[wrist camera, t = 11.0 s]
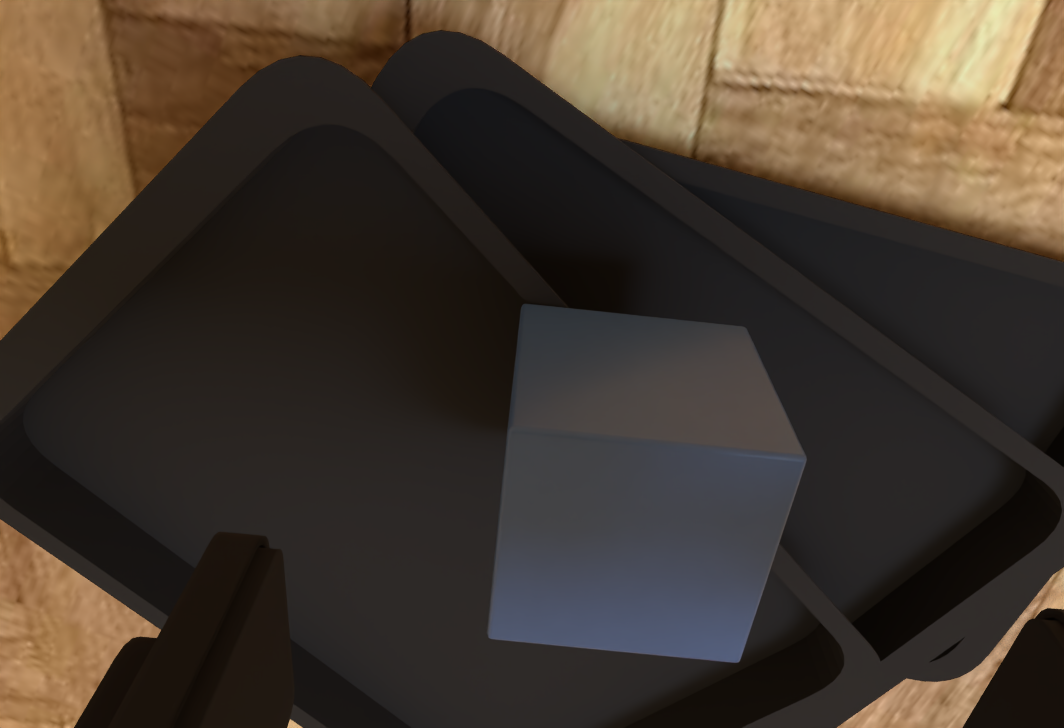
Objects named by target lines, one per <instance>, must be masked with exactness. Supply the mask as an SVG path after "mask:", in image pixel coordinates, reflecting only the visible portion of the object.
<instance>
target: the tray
mask: <svg viewBox="0 0 1064 728" xmlns="http://www.w3.org/2000/svg"><path fill="white" fill-rule="evenodd" d="M523 304H534V305H543V306H553V307H562V308H572V309H581V310H591V311H600V312H610V313H619V314H629V315H638V316H648V317H657V318H667V319H676V320H686V321H695V322H705V323H714V324H724V325H734V326H743V327H745V328H746V329H747V331H748V333H749V335H750V337H751V339H752V342H753V344H754V346H755V348H756V350H757V352H758V354H759V356H760V359H761V361H762V363H763V365H764V367H765V369H766V371H767V374H768V376H769V378H770V380H771V382H772V384H773V386H774V389H775V391H776V393H777V395H778V397H779V399H780V401H781V403H782V406H783V408H784V410H785V412H786V414H787V416H788V418H789V421H790V423H791V425H792V427H793V429H794V431H795V433H796V436H797V438H798V440H799V442H800V444H801V446H802V448H803V451H804V453H805V455H806V459H807V460H806V464H805V467H804V470H803V473H802V476H801V479H800V482H799V485H798V488H797V491H796V494H795V497H794V500H793V503H792V506H791V509H790V512H789V515H788V518H787V521H786V524H785V527H784V530H783V533H782V536H781V539H780V542H779V545H778V548H777V551H776V554H775V557H774V560H773V563H772V566H771V569H770V572H769V575H768V578H767V581H766V584H765V587H764V590H763V593H762V596H761V599H760V602H759V605H758V608H757V611H756V614H755V617H754V620H753V623H752V626H751V629H750V632H749V635H748V638H747V641H746V644H745V647H744V650H743V653H742V656H741V659H740V661H739V662H737V663H731V662H721V661H711V660H701V659H690V658H680V657H670V656H659V655H649V654H639V653H629V652H618V651H608V650H598V649H587V648H577V647H567V646H557V645H546V644H536V643H526V642H515V641H505V640H495V639H490V638H489V637H488V634H487V627H488V618H489V608H490V598H491V588H492V578H493V568H494V558H495V548H496V538H497V528H498V518H499V509H500V499H501V489H502V479H503V469H504V459H505V449H506V439H507V429H508V420H509V411H510V402H511V393H512V384H513V375H514V366H515V357H516V348H517V339H518V330H519V321H520V312H521V307H522V305H523ZM0 519H1V520H2V521H4V522H5V523H7V524H8V525H10V526H11V527H13V528H14V529H16V530H17V531H18V532H20V533H21V534H23V535H24V536H26V537H27V538H29V539H30V540H31V541H33V542H34V543H36V544H37V545H39V546H40V547H42V548H43V549H45V550H46V551H47V552H49V553H50V554H52V555H53V556H55V557H56V558H58V559H59V560H61V561H62V562H63V563H65V564H66V565H68V566H69V567H71V568H72V569H74V570H75V571H76V572H78V573H79V574H81V575H82V576H84V577H85V578H87V579H88V580H90V581H91V582H92V583H94V584H95V585H97V586H98V587H100V588H101V589H103V590H104V591H106V592H107V593H108V594H110V595H111V596H113V597H114V598H116V599H117V600H119V601H120V602H121V603H123V604H124V605H126V606H127V607H129V608H130V609H132V610H133V611H135V612H136V613H137V614H139V615H140V616H142V617H143V618H145V619H146V620H148V621H149V622H151V623H152V624H153V625H155V626H156V627H158V628H159V629H161V630H162V628H163V626H164V624H165V623H166V621H167V619H168V617H169V615H170V614H171V612H172V610H173V608H174V606H175V604H176V603H177V601H178V599H179V597H180V595H181V594H182V592H183V590H184V588H185V586H186V584H187V583H188V581H189V579H190V577H191V575H192V574H193V572H194V570H195V568H196V566H197V564H198V563H199V561H200V559H201V557H202V555H203V554H204V552H205V550H206V548H207V546H208V544H209V543H210V541H211V539H212V538H213V536H214V535H215V534H216V533H218V532H229V533H240V534H251V535H262V536H266V537H267V539H268V541H269V547H270V548H271V549H281V550H282V552H283V559H284V571H285V582H286V594H287V606H288V618H289V629H290V641H291V653H292V665H293V676H294V702H293V708H292V713H291V717H290V719H291V720H293V721H294V722H296V723H297V724H299V725H300V726H301V727H303V728H836V727H838V726H839V725H841V724H842V723H843V722H845V721H846V720H848V719H849V718H851V717H852V716H853V715H855V714H856V713H858V712H859V711H860V710H862V709H863V708H865V707H866V706H868V705H869V704H870V703H872V702H873V701H875V700H876V699H877V698H879V697H880V696H882V695H883V694H885V693H886V692H887V691H889V690H890V689H892V688H893V687H894V686H896V685H897V684H899V683H900V682H902V681H903V680H904V679H906V678H908V679H913V680H919V681H932V682H938V681H946V680H951V679H954V678H957V677H961V676H962V675H964V674H966V673H968V672H970V671H972V670H973V669H974V668H975V667H977V666H978V665H979V664H981V662H982V661H983V660H984V659H985V658H986V657H987V656H988V655H989V654H990V652H991V651H992V650H993V649H994V647H995V646H996V645H997V644H998V642H999V641H1000V640H1001V639H1002V638H1003V636H1004V635H1005V634H1006V633H1007V631H1008V630H1009V629H1010V628H1011V626H1012V625H1013V624H1014V623H1015V621H1016V620H1017V619H1018V618H1019V616H1020V615H1021V614H1022V613H1023V611H1024V610H1025V609H1026V608H1027V606H1028V605H1029V604H1030V603H1031V601H1032V600H1033V599H1034V598H1035V596H1036V595H1037V594H1038V593H1039V591H1040V590H1041V589H1042V588H1043V586H1044V585H1045V584H1046V583H1047V581H1048V580H1049V579H1050V578H1051V576H1052V575H1053V574H1055V573H1056V572H1057V571H1059V570H1060V569H1062V568H1063V567H1064V262H1062V261H1059V260H1055V259H1052V258H1048V257H1044V256H1041V255H1037V254H1034V253H1030V252H1026V251H1023V250H1019V249H1016V248H1012V247H1008V246H1005V245H1001V244H998V243H994V242H990V241H987V240H983V239H980V238H976V237H972V236H969V235H965V234H962V233H958V232H954V231H951V230H947V229H944V228H940V227H936V226H933V225H929V224H926V223H922V222H918V221H915V220H911V219H908V218H904V217H900V216H897V215H893V214H890V213H886V212H882V211H879V210H875V209H872V208H868V207H864V206H861V205H857V204H854V203H850V202H846V201H843V200H839V199H836V198H832V197H828V196H825V195H821V194H818V193H814V192H810V191H807V190H803V189H800V188H796V187H792V186H789V185H785V184H782V183H778V182H774V181H771V180H767V179H764V178H760V177H756V176H753V175H749V174H746V173H742V172H738V171H735V170H731V169H728V168H724V167H720V166H717V165H713V164H710V163H706V162H702V161H699V160H695V159H692V158H688V157H684V156H681V155H677V154H674V153H670V152H666V151H663V150H659V149H656V148H652V147H648V146H645V145H641V144H638V143H634V142H630V141H627V140H623V139H620V138H616V137H615V136H613V135H612V134H611V133H609V132H608V131H606V130H605V129H604V128H602V127H601V126H600V125H598V124H597V123H596V122H594V121H593V120H591V119H590V118H589V117H587V116H586V115H585V114H583V113H582V112H581V111H579V110H578V109H577V108H575V107H574V106H572V105H571V104H570V103H568V102H567V101H566V100H564V99H563V98H562V97H560V96H559V95H558V94H556V93H555V92H553V91H552V90H551V89H549V88H548V87H547V86H545V85H544V84H543V83H541V82H540V81H539V80H537V79H536V78H534V77H533V76H532V75H530V74H529V73H528V72H526V71H525V70H524V69H522V68H521V67H520V66H518V65H517V64H515V63H514V62H513V61H511V60H510V59H509V58H507V57H506V56H505V55H503V54H502V53H500V52H499V51H497V50H495V49H494V48H492V47H491V46H489V45H487V44H486V43H484V42H483V41H481V40H479V39H476V38H473V37H471V36H468V35H465V34H463V33H460V32H452V31H443V30H439V31H434V32H429V33H424V34H421V35H419V36H418V37H416V38H414V39H412V40H410V41H408V42H407V43H405V44H404V45H403V46H402V47H401V48H400V49H399V50H398V51H397V52H396V53H395V54H394V55H393V56H392V57H391V58H390V59H389V60H388V62H387V63H386V65H385V66H384V68H383V69H382V70H381V72H380V73H379V75H378V76H377V78H376V80H375V81H374V83H373V85H372V87H369V86H368V85H367V84H366V83H365V82H364V81H363V80H362V79H361V78H359V77H358V76H356V75H355V74H353V73H352V72H351V71H349V70H348V69H346V68H345V67H343V66H342V65H339V64H337V63H334V62H332V61H329V60H327V59H324V58H321V57H313V56H302V55H300V56H295V57H290V58H285V59H281V60H278V61H276V62H274V63H273V64H271V65H269V66H267V67H265V68H263V69H261V70H260V71H258V72H257V73H256V74H255V75H254V76H252V77H251V78H250V79H249V80H248V81H247V82H246V83H244V84H243V85H242V86H241V87H240V88H239V89H238V90H237V91H236V92H235V93H234V94H233V95H232V96H231V97H230V99H229V100H228V101H227V102H226V103H225V104H224V105H223V106H222V107H221V108H220V109H219V110H218V111H217V112H216V113H215V114H214V115H213V116H212V118H211V119H210V120H209V121H208V122H207V123H206V124H205V125H204V126H203V127H202V128H201V129H200V130H199V131H198V132H197V133H196V134H195V136H194V137H193V138H192V139H191V140H190V141H189V142H188V143H187V144H186V145H185V146H184V147H183V148H182V149H181V150H180V151H179V152H178V153H177V155H176V156H175V157H174V158H173V159H172V160H171V161H170V162H169V163H168V164H167V165H166V166H165V167H164V168H163V169H162V170H161V171H160V173H159V174H158V175H157V176H156V177H155V178H154V179H153V180H152V181H151V182H150V183H149V184H148V185H147V186H146V187H145V188H144V189H143V191H142V192H141V193H140V194H139V195H138V196H137V197H136V198H135V199H134V200H133V201H132V202H131V203H130V204H129V205H128V206H127V207H126V208H125V210H124V211H123V212H122V213H121V214H120V215H119V216H118V217H117V218H116V219H115V220H114V221H113V222H112V223H111V224H110V225H109V226H108V228H107V229H106V230H105V231H104V232H103V233H102V234H101V235H100V236H99V237H98V238H97V239H96V240H95V241H94V242H93V243H92V244H91V245H90V247H89V248H88V249H87V250H86V251H85V252H84V253H83V254H82V255H81V256H80V257H79V258H78V259H77V260H76V261H75V262H74V263H73V265H72V266H71V267H70V268H69V269H68V270H67V271H66V272H65V273H64V274H63V275H62V276H61V277H60V278H59V279H58V280H57V281H56V283H55V284H54V285H53V286H52V287H51V288H50V289H49V290H48V291H47V292H46V293H45V294H44V295H43V296H42V297H41V298H40V299H39V300H38V302H37V303H36V304H35V305H34V306H33V307H32V308H31V309H30V310H29V311H28V312H27V313H26V314H25V315H24V316H23V317H22V318H21V320H20V321H19V322H18V323H17V324H16V325H15V326H14V327H13V328H12V329H11V330H10V331H9V332H8V333H7V334H6V335H5V336H4V337H3V339H2V340H1V341H0Z"/></svg>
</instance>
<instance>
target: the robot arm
mask: <svg viewBox="0 0 1064 728" xmlns="http://www.w3.org/2000/svg"><path fill="white" fill-rule="evenodd" d="M293 702H294V676H293V665H292V653H291V641H290V629H289V618H288V606H287V594H286V582H285V571H284V559H283V552H282V550H281V549H271V548H270V547H269V541H268V539H267V537H266V536H262V535H251V534H240V533H229V532H218V533H216V534H215V535H214V536H213V538H212V539H211V541H210V543H209V544H208V546H207V548H206V550H205V552H204V554H203V555H202V557H201V559H200V561H199V563H198V564H197V566H196V568H195V570H194V572H193V574H192V575H191V577H190V579H189V581H188V583H187V584H186V586H185V588H184V590H183V592H182V594H181V595H180V597H179V599H178V601H177V603H176V604H175V606H174V608H173V610H172V612H171V614H170V615H169V617H168V619H167V621H166V623H165V624H164V626H163V628H162V630H161V632H160V634H159V635H158V637H157V638H149V637H136V638H132V639H131V640H130V641H129V642H128V643H126V644H125V645H124V646H123V648H122V649H121V651H120V652H119V653H118V655H117V656H116V658H115V659H114V661H113V663H112V664H111V666H110V668H109V669H108V671H107V673H106V674H105V676H104V678H103V680H102V681H101V683H100V685H99V686H98V688H97V690H96V691H95V693H94V695H93V696H92V698H91V700H90V701H89V703H88V705H87V707H86V708H85V710H84V712H83V713H82V715H81V717H80V718H79V720H78V722H77V723H76V725H75V727H74V728H287V726H288V723H289V720H290V717H291V713H292V708H293ZM963 728H1064V610H1062V609H1051V608H1047V609H1045V610H1043V611H1041V612H1040V613H1039V614H1038V615H1037V616H1036V618H1035V619H1031V620H1029V621H1028V622H1027V623H1026V624H1025V625H1024V627H1023V628H1022V630H1021V631H1020V633H1019V635H1018V636H1017V638H1016V640H1015V641H1014V643H1013V645H1012V646H1011V648H1010V650H1009V651H1008V653H1007V655H1006V656H1005V658H1004V660H1003V661H1002V663H1001V665H1000V666H999V668H998V670H997V671H996V673H995V675H994V676H993V678H992V680H991V681H990V683H989V685H988V686H987V688H986V690H985V691H984V693H983V695H982V696H981V698H980V700H979V701H978V703H977V705H976V706H975V708H974V710H973V711H972V713H971V715H970V716H969V718H968V719H967V721H966V723H965V724H964V726H963Z"/></svg>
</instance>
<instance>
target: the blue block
mask: <svg viewBox="0 0 1064 728" xmlns="http://www.w3.org/2000/svg"><path fill="white" fill-rule="evenodd" d="M806 460H807V459H806V455H805V453H804V451H803V448H802V446H801V444H800V442H799V440H798V438H797V436H796V433H795V431H794V429H793V427H792V425H791V423H790V421H789V418H788V416H787V414H786V412H785V410H784V408H783V406H782V403H781V401H780V399H779V397H778V395H777V393H776V391H775V389H774V386H773V384H772V382H771V380H770V378H769V376H768V374H767V371H766V369H765V367H764V365H763V363H762V361H761V359H760V356H759V354H758V352H757V350H756V348H755V346H754V344H753V342H752V339H751V337H750V335H749V333H748V331H747V329H746V328H745V327H743V326H734V325H724V324H714V323H705V322H695V321H686V320H676V319H667V318H657V317H648V316H638V315H629V314H619V313H610V312H600V311H591V310H581V309H572V308H562V307H553V306H543V305H534V304H523V305H522V307H521V312H520V321H519V330H518V339H517V348H516V357H515V366H514V375H513V384H512V393H511V402H510V411H509V420H508V429H507V439H506V449H505V459H504V469H503V479H502V489H501V499H500V509H499V518H498V528H497V538H496V548H495V558H494V568H493V578H492V588H491V598H490V608H489V618H488V627H487V634H488V637H489V638H490V639H495V640H505V641H515V642H526V643H536V644H546V645H557V646H567V647H577V648H587V649H598V650H608V651H618V652H629V653H639V654H649V655H659V656H670V657H680V658H690V659H701V660H711V661H721V662H731V663H737V662H739V661H740V659H741V656H742V653H743V650H744V647H745V644H746V641H747V638H748V635H749V632H750V629H751V626H752V623H753V620H754V617H755V614H756V611H757V608H758V605H759V602H760V599H761V596H762V593H763V590H764V587H765V584H766V581H767V578H768V575H769V572H770V569H771V566H772V563H773V560H774V557H775V554H776V551H777V548H778V545H779V542H780V539H781V536H782V533H783V530H784V527H785V524H786V521H787V518H788V515H789V512H790V509H791V506H792V503H793V500H794V497H795V494H796V491H797V488H798V485H799V482H800V479H801V476H802V473H803V470H804V467H805V464H806Z"/></svg>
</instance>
